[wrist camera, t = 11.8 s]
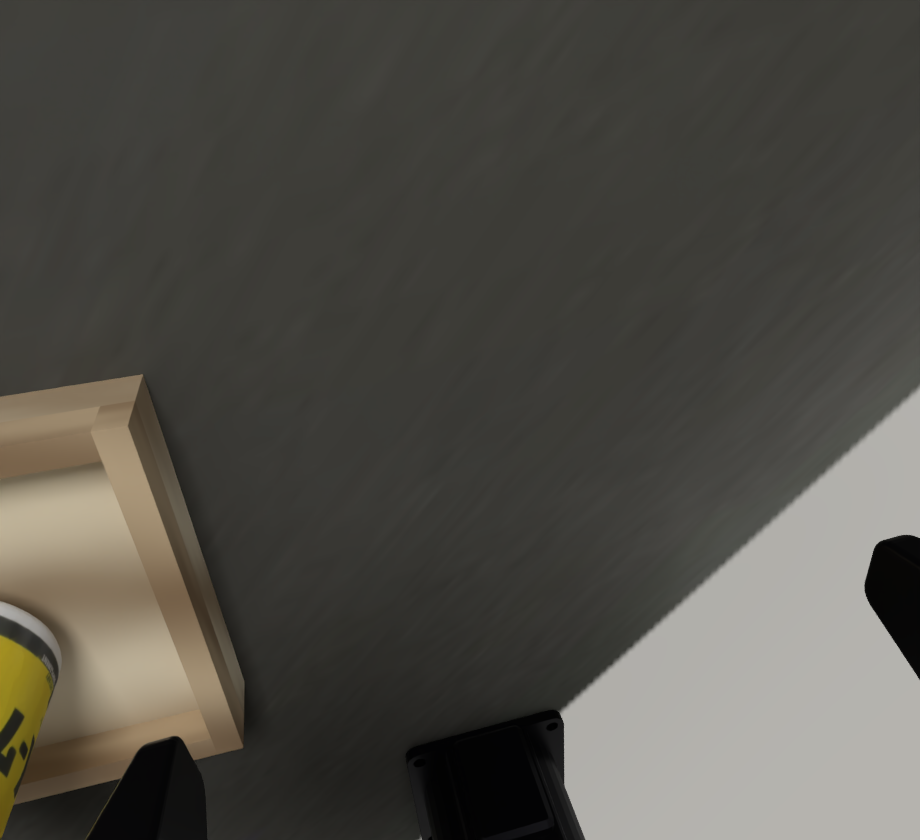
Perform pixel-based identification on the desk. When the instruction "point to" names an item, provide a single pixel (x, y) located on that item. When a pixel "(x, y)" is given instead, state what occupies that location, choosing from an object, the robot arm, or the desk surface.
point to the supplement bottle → (22, 694)
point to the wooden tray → (110, 585)
